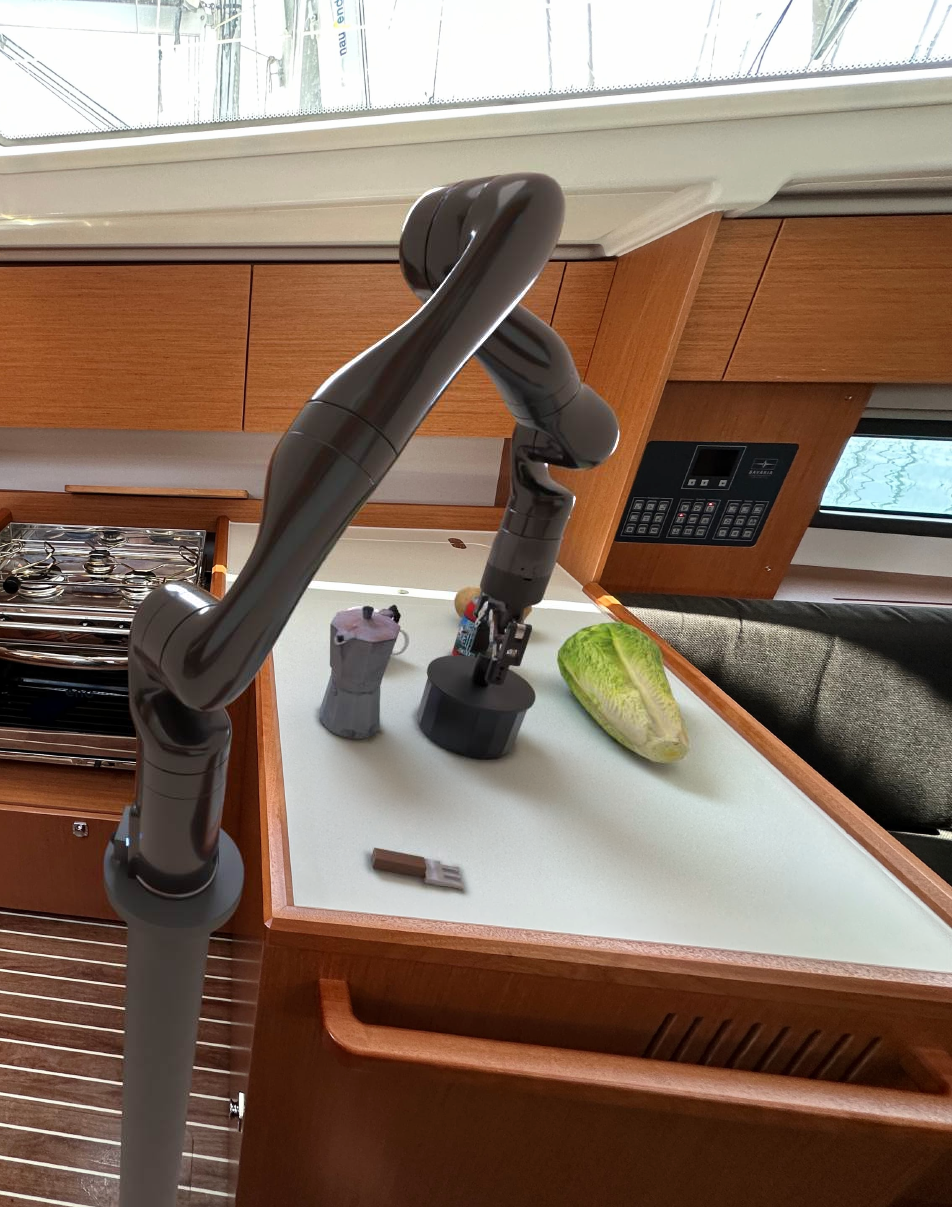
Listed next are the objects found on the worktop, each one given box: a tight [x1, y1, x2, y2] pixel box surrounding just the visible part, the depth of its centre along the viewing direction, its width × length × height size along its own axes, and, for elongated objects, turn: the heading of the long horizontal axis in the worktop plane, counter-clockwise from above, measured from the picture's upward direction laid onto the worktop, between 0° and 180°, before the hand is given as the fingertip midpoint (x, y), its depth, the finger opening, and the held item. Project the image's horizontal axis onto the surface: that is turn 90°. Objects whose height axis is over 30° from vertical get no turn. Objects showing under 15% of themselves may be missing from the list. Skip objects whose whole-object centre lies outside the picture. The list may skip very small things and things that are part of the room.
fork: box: [371, 847, 464, 890], centre depth 69 cm, size 10×3×2 cm, turn 77°
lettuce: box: [556, 621, 691, 764], centre depth 93 cm, size 14×24×14 cm
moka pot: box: [319, 604, 402, 739], centre depth 89 cm, size 10×15×20 cm, turn 132°
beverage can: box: [451, 595, 503, 658], centre depth 108 cm, size 7×7×12 cm
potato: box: [453, 586, 533, 621], centre depth 121 cm, size 10×14×8 cm
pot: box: [416, 678, 528, 761], centre depth 91 cm, size 13×13×8 cm
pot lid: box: [426, 651, 536, 714], centre depth 88 cm, size 14×14×6 cm
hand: (485, 666), depth 87 cm, fingers open, 8 cm apart
